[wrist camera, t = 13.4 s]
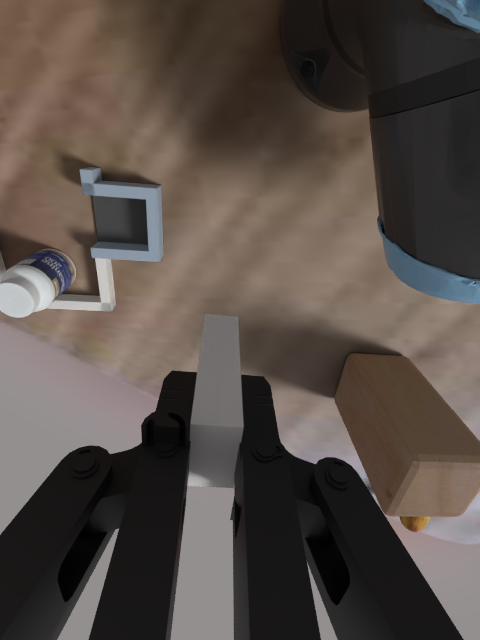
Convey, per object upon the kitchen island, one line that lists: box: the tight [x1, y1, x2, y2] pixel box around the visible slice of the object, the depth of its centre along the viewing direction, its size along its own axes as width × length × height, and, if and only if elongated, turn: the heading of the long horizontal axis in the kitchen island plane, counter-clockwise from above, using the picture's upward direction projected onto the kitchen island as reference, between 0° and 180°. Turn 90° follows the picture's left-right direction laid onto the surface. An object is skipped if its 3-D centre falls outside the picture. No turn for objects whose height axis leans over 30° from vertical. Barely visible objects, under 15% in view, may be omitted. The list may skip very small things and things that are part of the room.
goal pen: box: [0, 250, 116, 311], centre depth 41 cm, size 8×14×2 cm, turn 85°
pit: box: [92, 195, 148, 245], centre depth 39 cm, size 6×7×1 cm
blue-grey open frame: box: [80, 167, 163, 262], centre depth 37 cm, size 10×21×3 cm, turn 85°
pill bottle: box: [0, 249, 76, 318], centre depth 38 cm, size 5×5×10 cm
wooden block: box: [335, 353, 480, 517], centre depth 45 cm, size 10×10×20 cm
